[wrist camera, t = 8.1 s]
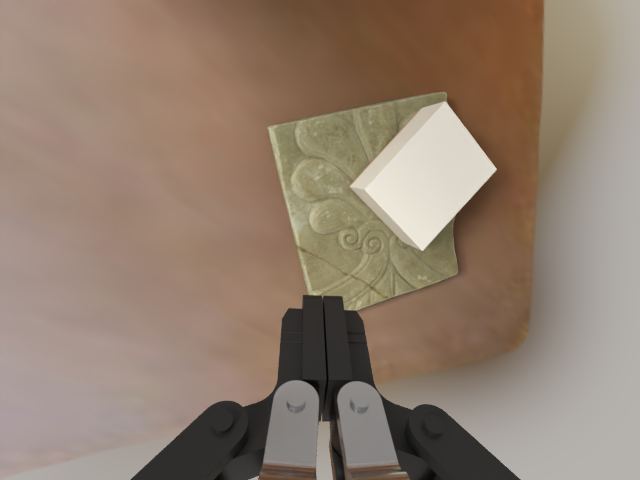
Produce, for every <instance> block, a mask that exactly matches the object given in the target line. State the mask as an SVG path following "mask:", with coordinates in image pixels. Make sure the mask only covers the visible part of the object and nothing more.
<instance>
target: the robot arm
mask: <svg viewBox="0 0 640 480" xmlns="http://www.w3.org/2000/svg"><path fill="white" fill-rule="evenodd" d="M321 415H322V421H330V441H329V450H330V458H331V467H332V474H333V480H520V479H519V478H518V477H517V476H516V475H515V474H513V473H512V472H511V471H510V470H509V469H508V468H507V467H506V466H504V465H503V464H502V463H501V462H500V461H499V460H498V459H497V458H496V457H495V456H494V455H492V454H491V453H490V452H489V451H488V450H487V449H486V448H485V447H483V446H482V445H481V444H480V443H479V442H478V441H477V440H476V439H475V438H474V437H472V436H471V435H470V434H469V433H468V432H467V431H466V430H465V429H464V428H462V427H461V426H460V425H459V424H458V423H457V422H456V421H455V420H454V419H452V418H451V417H450V416H449V415H448V414H447V413H446V412H445V411H443V410H442V409H440V408H438V407H436V406H433V405H428V404H423V405H419V406H417V407H416V408H414V409H413V410H411V409H408V408H405V407H402V406H399V405H396V404H394V403H391V402H390V401H388V400H386V399H385V398H384V397H383V396H382V395H381V394H380V393H379V392H378V390H377V389H376V387H375V384H374V381H373V375H372V370H371V364H370V358H369V352H368V347H367V341H366V335H365V330H364V324H363V320H362V319H361V317H360V316H359V314H358V313H357V312H356V310H344V304H343V297H342V296H324V295H323V299H322V296H321V295H303V301H302V309H291V308H289V309H288V310H287V312H286V313H285V315H284V317H283V318H282V329H281V343H280V356H279V369H278V380H277V384H276V387H275V389H274V390H273V392H272V393H271V394H270V395H269V396H268V397H267V398H265V399H264V400H262V401H260V402H257V403H254V404H251V405H248V406H245V407H242V406H241V405H240V404H238V403H236V402H233V401H221V402H218V403H215V404H213V405H212V406H210V407H209V408H207V409H206V410H205V411H204V412H203V413H202V414H201V415H200V416H199V417H198V418H197V419H196V420H194V421H193V422H192V423H191V424H190V425H189V426H188V427H187V428H186V429H185V430H184V431H183V432H181V433H180V434H179V435H178V436H177V437H176V438H175V439H174V440H173V441H172V442H171V443H170V444H169V445H167V446H166V447H165V448H164V449H163V450H162V451H161V452H160V453H159V454H158V455H157V456H156V457H155V458H154V459H152V460H151V461H150V462H149V463H148V464H147V465H146V466H145V467H144V468H143V469H142V470H140V471H139V472H138V473H137V474H136V475H135V476H134V477H133V478H132V479H131V480H248V479H251V478H254V477H256V476H259V478H258V480H316V457H317V436H318V424H319V421H321Z"/></svg>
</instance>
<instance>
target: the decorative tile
mask: <svg viewBox="0 0 640 480" xmlns="http://www.w3.org/2000/svg"><path fill="white" fill-rule="evenodd" d="M444 101H446V103H447V93H445V92H436V93H430V94H424V95H419V96H413V97H407V98H402V99H397V100H392V101H386V102H381V103H375V104H370V105H366V106H361V107H356V108H352V109H347V110H342V111H337V112H332V113H327V114H322V115H317V116H313V117H308V118H304V119H299V120H295V121H290V122H285V123H280V124H275V125H271V126H268V127H267V128H268V135H269V139H270V143H271V147H272V151H273V155H274V159H275V163H276V168H277V172H278V176H279V180H280V184H281V188H282V192H283V196H284V200H285V204H286V208H287V212H288V216H289V220H290V224H291V228H292V232H293V236H294V240H295V244H296V248H297V252H298V256H299V261H300V265H301V269H302V273H303V277H304V281H305V285H306V289H307V293H308V295H321V296H322V299H323V295H324V296H342V297H343V304H344V310H356V311H357V310H360V309H363V308H366V307H368V306H371V305H374V304H377V303H379V302H382V301H385V300H388V299H390V298H393V297H396V296H400V295H403V294H406V293H409V292H412V291H415V290H418V289H420V288H423V287H426V286H429V285H432V284H434V283H437V282H439V281H442V280H444V279H446V278H449V277H451V276H454V275H456V274H458V265H457V259H456V254H455V249H454V235H453V223H454V220H455V216H454V217H453V218H452V219H451V220H450V222H449V223H448V224H447V225H446V226H445V227H444V228H443V229H442V230H441V231H440V232H439V234H438V235H437V236H436V237H435V238H434V239H433V240H432V241H431V242H430V243H429V245H428V246H427V247H426V248H425V249H424V250H423V251H421V250H419V249H417V248H415V247H412V246H410V245H408V244H406V243H404V242H402V241H401V240H400V239H399V238H398V237H397V236H396V235H395V234H394V233H393V232H392V231H391V230H390V229H389V228H388V227H387V226H386V225H385V224H384V223H383V222H382V221H381V220H380V219H379V217H378V216H377V215H376V214H375V213H374V212H373V211H372V210H371V209H370V208H369V207H368V206H367V205H366V204H365V203H364V202H363V201H362V200H361V199H360V198H359V197H358V196H357V195H356V194H355V193H354V192H353V191H352V189H351V188H350V187H349V186H350V185H351V183H352V182H353V181H354V180H355V179H356V178H357V177H358V176H359V175H360V174H361V173H362V172H363V170H364V169H365V168H366V167H367V166H368V165H369V164H370V163H371V162H372V161H373V160H374V159H375V157H376V156H377V155H378V154H379V153H380V152H381V151H382V150H383V149H384V148H385V147H386V145H387V144H388V143H389V142H390V141H391V140H392V139H393V138H394V137H395V136H396V135H397V134H398V132H399V131H400V130H401V129H402V128H403V127H404V126H405V125H406V124H407V123H408V122H409V120H410V119H411V118H412V117H413V116H414V115H415V114H416V113H417V112H418V111H419V110H420V109H421V108H423V107H427V106H430V105H434V104H437V103H441V102H444ZM447 104H448V103H447Z"/></svg>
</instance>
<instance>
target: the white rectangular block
mask: <svg viewBox="0 0 640 480" xmlns="http://www.w3.org/2000/svg"><path fill="white" fill-rule="evenodd" d="M496 170H497V169H496V167H495V166H494V165H493V164H492V162H491V161H490V160H489V158H488V157H487V156H486V154H485V153H484V152H483V150H482V149H481V148H480V146H479V145H478V144H477V142H476V141H475V140H474V138H473V137H472V136H471V134H470V133H469V132H468V130H467V129H466V128H465V126H464V125H463V124H462V122H461V121H460V120H459V118H458V117H457V116H456V114H455V113H454V112H453V110H452V109H451V108H450V107H449V105H448V104H447V103H446V101H444V102H441V103H437V104H434V105H430V106H427V107H423V108H421V109H420V110H419V111H418V112H417V113H416V114H415V115H414V116H413V117H412V118H411V119H410V120H409V122H408V123H407V124H406V125H405V126H404V127H403V128H402V129H401V130H400V131H399V132H398V134H397V135H396V136H395V137H394V138H393V139H392V140H391V141H390V142H389V143H388V144H387V145H386V147H385V148H384V149H383V150H382V151H381V152H380V153H379V154H378V155H377V156H376V157H375V159H374V160H373V161H372V162H371V163H370V164H369V165H368V166H367V167H366V168H365V169H364V170H363V172H362V173H361V174H360V175H359V176H358V177H357V178H356V179H355V180H354V181H353V182H352V183H351V185H350V186H349V187H350V188H351V189H352V191H353V192H354V193H355V194H356V195H357V196H358V197H359V198H360V199H361V200H362V201H363V202H364V203H365V204H366V205H367V206H368V207H369V208H370V209H371V210H372V211H373V212H374V213H375V214H376V215H377V216H378V217H379V219H380V220H381V221H382V222H383V223H384V224H385V225H386V226H387V227H388V228H389V229H390V230H391V231H392V232H393V233H394V234H395V235H396V236H397V237H398V238H399V239H400V240H401V241H402V242H404V243H406V244H408V245H410V246H412V247H415V248H417V249H419V250H421V251H423V250H424V249H425V248H426V247H427V246H428V245H429V243H430V242H431V241H432V240H433V239H434V238H435V237H436V236H437V235H438V234H439V232H440V231H441V230H442V229H443V228H444V227H445V226H446V225H447V224H448V223H449V222H450V220H451V219H452V218H453V217H454V216H455V215H456V214H457V213H458V212H459V211H460V209H461V208H462V207H463V206H464V205H465V204H466V203H467V202H468V201H469V200H470V198H471V197H472V196H473V195H474V194H475V193H476V192H477V191H478V190H479V189H480V188H481V186H482V185H483V184H484V183H485V182H486V181H487V180H488V179H489V178H490V177H491V175H492V174H493V173H494V172H495V171H496Z"/></svg>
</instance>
